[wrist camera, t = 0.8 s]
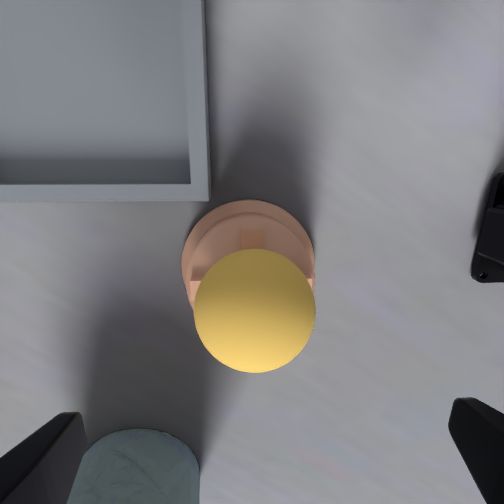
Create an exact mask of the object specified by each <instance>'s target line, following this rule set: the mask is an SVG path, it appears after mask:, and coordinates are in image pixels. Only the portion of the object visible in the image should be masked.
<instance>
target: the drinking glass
mask: <svg viewBox="0 0 504 504" xmlns="http://www.w3.org/2000/svg"><path fill="white" fill-rule="evenodd" d="M199 489H200V475H199V466H198V463H197V460H196V458H195V456H194V454H193V452H192V451H191V450H190V448H189V447H188V446H187V445H186V444H185V443H183V442H182V441H180V440H179V439H178V438H176V437H173V436H171V434H169V433H165V432H160V431H159V430H152V429H129V430H122V431H116V432H113V433H110V434H108V435H106V436H104V437H102V438H101V439H99V440H98V441H97V442H96V443H94V444H93V445H92V446H91V447H90V448H89V449H88V451H87V452H86V453H85V454H84V456H83V458H82V461H81V463H80V466H79V469H78V472H77V475H76V478H75V481H74V484H73V487H72V489H71V492H70V495H69V498H68V501H67V504H199Z"/></svg>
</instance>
